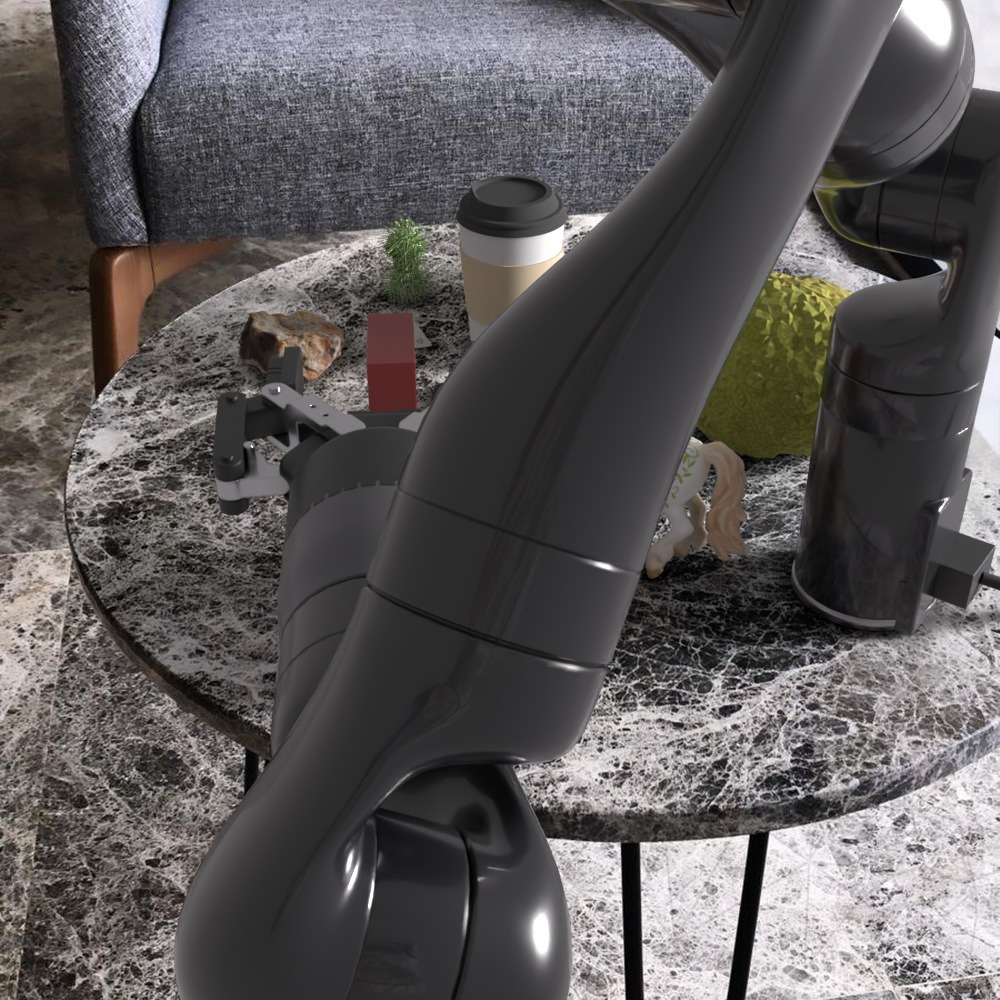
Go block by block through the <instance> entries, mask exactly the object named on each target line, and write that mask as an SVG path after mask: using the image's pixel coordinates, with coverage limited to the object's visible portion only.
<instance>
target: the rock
mask: <svg viewBox="0 0 1000 1000" xmlns="http://www.w3.org/2000/svg"><path fill="white" fill-rule="evenodd" d="M246 315H248V317H247V320H246V322H245V325H244V327H243V329H242V330H241V332H240V334H239V335H240V336H239V339H238V344H239V349H238V357H239V359H240V360H241V362H242V363H243V364H244V365H247V366H251V367H252V366H253V367H256V368H257V369H259V370H260V372H261V373H262V374H265V375H267V374H268V367H269V362H270V361H271V360H272V359H273V358H274V357H283V356H284V349H285V347H293V346H300V348H301V356H302V366H303V376H304V382H308V383H309V382H311V381H313V380H315V379H317V378H319V377H320V376H321V375H322V373H323V372H324V371H325V370H327V369H328V368H329V367H330V366H331V365H332V364H333V362H334V360H336V359H337V358H339V357H340V356H342V349H343V348H344V347H345V345H346V343H345V342H346V341H345V340H346V339H345V332H344V331H343V329H342V328H341V327H339V326H337V325H336V324H335V323H334V322H332V321H330V320H327V318H326V317H325V316H324V315H321V314H317V313H315V312H312V311H309V310H307V309H303V310H299V311H295V312H293V313H290V314H284V313H281V312H279V313H276V312H275V313H272V314H270V313H268V312H267V311H265V310H259V311H254V312H248V313H247V312H246Z"/></svg>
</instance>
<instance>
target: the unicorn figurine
mask: <svg viewBox="0 0 1000 1000" xmlns="http://www.w3.org/2000/svg"><path fill="white" fill-rule="evenodd" d="M711 465H713V467H714V469H715V473H716V479H715V483H714V486H713V488H712V491H711V496H710V497H711V498H710V505H709V506H710V508H709V511H708V505H707V503H706V502H705V501H704V500H703V499H702V497H701V496H700V493H699V492H700V491H701V489H702V488H703V487H704V486H705V483H706V482H707V480H708V476H709V473H710V468H711ZM747 483H748V475H747V473H746V471H745V462H744V461H743V459H742V458H741V456H740V455H739V454H738V453H736V452H734V451H733V450H732V449H730V448H729V447H727V446H726V445H725V444H724V443H722V442H712V441H711V442H709V443H703V442H702V441H701V440H699V439H697V438H695V437H694V436H692V437H691V439H690V442H689V444H688V446H687V448H686V451H685V454H684V456H683V459H682V461H681V464H680V466H679V469H678V471H677V474H676V477H675V479H674V482H673V484H672V487H671V489H670V492H669V495H668V497H667V500H666V502H665V505H664V507H663V510H662V514H663V515H664V517H665V518H666V519H667V520H668V522H669V524H670V525H671V528H670V529H669V530H668V531H667V532H666V533H665V534H664V535H663V536H662V537H660V538H659V539H658V540H657V541H655V542H654V543H652V544H651V546H650V549H649V552H648V555H647V559H646V562H645V568H646V575H647V577H648V578H649V579H650V580H651V579H652V580H653V579H656V578H657V577H659V576H660V575H661V574H662V573H663V572H664V568H665V566H666V564H667V562H668V563H669V562H670V561H671V559H672V558H673V557H676V558H684V557H686V556H687V555H688V554H689V553H690V549H691V547H692V549H693V551H695V552H701V551H702V549H703V548H705V547H706V546H707V544H708V546H710V547H711V548H712V549H713V551H714V553H715V554H716V555H717V556H718V557H719V559H722V560H723V561H725V562H728V561H729V560H730V556H729V554H732V555H734V556H735V555H738V556H745V555H747V554H749V553H750V552H751V547H750V545H749V544H747V543H745V541H744V538H743V536H742V534H741V522H742V523H746V522H748V516H747V514H746V511H745V509H744V508H743V505H742V502H741V501H742V500H743V499H744V498H745V487H746V486H747ZM688 514H689V515H688Z"/></svg>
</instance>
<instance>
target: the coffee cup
mask: <svg viewBox="0 0 1000 1000" xmlns="http://www.w3.org/2000/svg"><path fill="white" fill-rule="evenodd" d="M568 218H569V215H568V212H567V210H566V209H565V203H564V200H563V199H562V198H561V197H560V196H559V195H558V193H555V192H554V190H553V188H552V187H551V185H550V184H548V183H547V182H545V181H544V180H542V179H539V178H536V177H531V176H526V175H517V174H509V175H497V176H492V177H488V178H484V179H482V180H480V181H472V183H471V184H470V188H469V190H468V192H467V193H466V194H465V195H463V196H462V198H461V199H460V200H459V203H458V209H457V211H456V214H455V219H456V221H457V223H458V227H459V235H460V236H459V238H460V241H459V245H458V246H459V254H460V263H461V273H462V281H463V290H464V291H463V292H464V300H465V308H466V313H467V317H468V327H469V336H470V341H475V340H476V339H477V338H478V337H479V336H480V335H481V334H482V333H483V331H484V330H485V329H486V328H487V327H488V326H489V325H490V324H491V323H492V322H493V321H494V320H495V319H496V318H497V317H498V316H499V315H500V314H501V313H502V312H503V311H504V310H505V309H506V308H507V307H509V306H510V305H511V304H512V303H513V302H514V301H515V300H516V299H517V298H518V297H519V296H520V295H521V294H522V293H523V292H524V291H525V290H526V289H527V288H528V287H530V286H531V285H532V284H533V283H534V282H535V281H536V280H537V279H538V278H539V277H540V276H541V275H543V274H544V273H545V272H546V271H547V270H548V269H549V268H550V267H552V266H553V265H554V264H555V263H556V262H557V261H558V260H559V259H561V258H562V257H563V256H564V250H565V243H564V240H563V239H564V238H563V237H564V231H565V230H564V228H565V224H566V223H567V221H568Z"/></svg>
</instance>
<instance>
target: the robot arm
mask: <svg viewBox="0 0 1000 1000" xmlns="http://www.w3.org/2000/svg"><path fill="white" fill-rule="evenodd" d="M601 1H602V2H604V3H605V4H608V5H609V6H611V7H613V8H614V9H617V10H618V11H620V12H622V13H623V14H625V15H627V16H628V17H630V18H632V19H633V20H635V21H637V22H638V23H640V24H642V25H643V26H645V27H646V28H648V29H650V30H652V31H653V32H655V33H656V34H657V35H659V36H660V37H662V38H663V39H664V40H666V41H667V42H668V43H670V44H671V45H672V46H673V47H674V48H676V49H677V50H678V51H679V52H681V53H682V55H683V56H685V57H686V59H688V61H690V62H691V63H692V64H693V66H694V67H695V68H696V69H697V70H698V71H699V72H700V73H701V74H702V75H703V76H704V78H706V79H707V80H708V81H709V82H710V83H711V84H712V85H710V88H709V90H708V92H707V93H706V95H705V97H704V98H703V100H702V101H701V103H700V105H699V106H698V107H697V109H696V110H695V112H694V113H693V115H692V117H691V119H690V120H689V121H688V123H687V124H686V125H685V127H684V128H683V129H682V131H681V132H680V133H679V134H678V136H677V137H676V139H675V140H674V141H673V143H672V144H671V145H670V147H669V148H668V149H667V151H666V152H665V153H664V154H663V156H661V157H660V158H659V160H658V161H657V162H655V164H654V165H653V166H652V167H651V168H650V169H649V171H648V172H646V174H645V175H644V176H643V177H642V178H641V179H640V181H638V182H637V184H636V185H634V187H633V188H632V189H631V190H630V191H629V193H628V194H627V195H626V196H625V197H624V198H623V199H622V200H621V201H620V202H619V203H618V204H617V205H616V206H615V207H614V208H613V209H612V210H611V211H609V212H608V214H607V215H605V216H604V217H603V218H602V219H601V220H600V221H599V222H598V223H597V224H596V225H595V226H594V227H593V228H591V230H590V231H589V232H588V233H587V234H586V235H585V236H584V237H582V238H581V239H580V240H579V242H577V243H576V244H575V245H574V246H573V247H572V248H571V249H569V250H568V251H567V252H566V253H565V254H563V257H562V258H561V259H559V260H558V261H557V262H556V263H555V264H554V265H553V266H552V267H550V268H549V269H548V270H547V271H546V272H545V273H544V274H543V275H541V276H540V277H539V278H538V279H537V280H536V281H535V282H534V283H533V284H532V285H531V286H530V287H528V288H527V289H526V290H525V291H524V292H523V293H522V294H521V295H520V296H519V297H518V298H517V299H516V300H515V301H514V302H513V303H512V304H511V305H510V306H509V307H507V308H506V309H505V310H504V311H503V312H502V313H501V314H500V315H499V316H498V317H497V318H496V319H495V320H494V321H493V322H492V323H491V324H490V325H489V326H488V327H487V328H486V329H485V330H484V331H483V333H482V334H481V335H480V336H479V337H478V338H477V339H476V340H475V341H471V340H470V341H469V345H470V346H469V347H468V348H467V349H466V350H465V352H464V353H463V355H462V356H461V357H460V358H459V360H458V361H457V362H456V363H455V364H454V366H453V367H452V368H451V370H450V372H449V373H448V375H447V376H446V378H445V379H444V380H443V382H442V383H443V384H442V385H441V387H440V388H439V390H438V391H437V393H436V395H435V397H434V399H433V400H432V402H431V401H430V403H431V404H430V403H429V405H428V406H427V407H425V408H424V409H423V410H421V408H417V409H400V410H394V411H389V412H376V411H369V410H347V412H346V414H344V413H343V412H341V411H340V410H338V409H337V408H335V407H334V406H332V405H331V404H329V403H328V402H326V401H325V400H324V399H322V398H320V397H319V396H317V395H316V394H314V393H310V394H308V395H305V396H304V390H305V381H304V376H303V366H302V356H301V348H300V346H293V347H285V349H284V356H283V357H274V358H273V359H272V360H271V361H270V362H269V367H268V374H266V379H265V380H266V381H265V385H264V386H262V387H261V389H260V393H259V394H256V395H255V396H252V397H251V396H250V397H247V395H246V394H245V393H244V392H242V391H239V390H238V391H237V390H233V391H232V390H231V391H226V392H224V393H222V394H220V395H219V396H218V397H217V405H216V415H215V427H214V437H213V449H212V465H213V466H212V467H213V472H214V473H213V474H214V480H215V487H216V494H217V501H218V507H219V512H221V514H224V515H226V516H240V515H241V514H244V513H245V512H247V511H248V510H249V508H250V500H251V499H250V498H260V497H261V498H262V497H271V496H272V497H274V496H282V497H283V499H284V500H285V501H286V502H287V512H286V519H285V520H286V521H285V528H284V538H283V545H282V546H283V547H282V554H281V555H282V556H281V563H280V571H279V581H278V590H277V591H278V593H277V601H276V603H277V605H276V607H277V608H276V615H277V617H276V618H277V628H278V636H279V647H278V656H277V664H276V665H277V667H276V674H275V675H276V677H275V685H274V695H273V706H272V713H271V724H270V748H271V749H270V750H271V757H272V758H271V759H270V760H269V762H268V763H267V764H266V766H265V767H264V769H263V770H262V771H261V772H260V774H259V776H258V777H257V778H256V779H255V781H254V782H253V784H252V785H251V787H250V788H249V789H248V791H247V792H246V794H245V795H244V796H243V798H242V799H241V800H240V801H239V803H238V805H236V808H235V809H234V811H233V812H232V813H231V815H230V816H229V817H228V819H227V820H226V822H225V823H224V825H223V826H222V828H221V829H220V831H219V832H218V834H217V835H216V837H215V839H214V840H213V842H212V844H211V845H210V847H209V849H208V850H207V852H206V853H205V855H204V857H203V858H202V860H201V862H200V864H199V865H198V868H197V870H196V872H195V874H194V875H193V878H192V880H191V883H190V884H189V887H188V889H187V891H186V894H185V897H184V899H183V903H182V906H181V909H180V912H179V916H178V921H177V923H176V924H177V925H176V929H175V936H174V942H173V943H174V945H173V960H174V961H173V962H174V963H173V964H174V977H175V983H176V986H177V990H178V991H177V992H178V996H179V1000H568V996H569V993H570V988H571V980H572V972H573V940H572V939H573V938H572V924H571V917H570V911H569V905H568V902H567V897H566V893H565V889H564V884H563V880H562V876H561V873H560V869H559V867H558V865H557V862H556V859H555V856H554V854H553V851H552V849H551V846H550V844H549V841H548V839H547V837H546V834H545V832H544V830H543V828H542V826H541V824H540V821H539V819H538V816H537V815H536V812H535V811H534V809H533V807H532V804H531V802H530V800H529V798H528V796H527V794H526V792H525V790H524V788H523V786H522V784H521V781H520V780H519V777H518V775H517V773H516V771H515V769H514V766H522V765H523V766H524V765H527V766H528V765H538V764H544V763H548V762H552V761H556V760H558V759H560V758H563V757H564V756H565V755H567V754H568V753H569V752H570V751H572V750H573V749H574V748H575V746H576V745H577V744H578V743H579V742H580V740H581V738H582V737H583V735H584V733H585V731H586V729H587V727H588V724H589V722H590V721H591V718H592V716H593V714H594V711H595V708H596V705H597V703H598V700H599V697H600V694H601V692H602V689H603V686H604V683H605V680H606V678H607V674H608V672H609V666H608V664H609V663H612V661H613V657H614V655H615V651H616V649H617V646H618V644H619V643H618V642H619V640H620V637H621V634H622V632H623V628H624V626H625V623H626V619H627V618H628V617H627V616H628V614H629V612H630V608H631V606H632V602H633V599H634V596H635V593H636V592H637V591H636V590H637V588H638V585H639V582H640V579H641V576H642V573H641V571H644V568H645V566H646V559H647V555H648V552H649V549H650V546H652V544H653V541H654V537H655V534H656V531H657V528H658V526H659V522H660V520H661V517H662V514H663V511H662V510H663V507H664V505H665V502H666V500H667V497H668V495H669V492H670V489H671V487H672V484H673V482H674V479H675V477H676V474H677V471H678V469H679V466H680V464H681V461H682V459H683V456H684V454H685V451H686V448H687V446H688V444H689V442H690V439H691V437H693V435H694V432H695V431H696V428H697V424H698V421H699V419H700V417H701V415H702V412H703V410H704V408H705V406H706V403H707V401H708V399H709V397H710V394H711V392H712V390H713V388H714V386H715V384H716V382H717V380H718V378H719V376H720V374H721V372H722V370H723V368H724V365H725V363H726V361H727V359H728V357H729V355H730V353H731V351H732V349H733V347H734V345H735V343H736V341H737V339H738V337H739V335H740V333H741V331H742V329H743V327H744V325H745V323H746V321H747V319H748V317H749V315H750V313H751V311H752V309H753V307H754V305H755V303H756V301H757V299H758V297H759V295H760V293H761V291H762V289H763V287H764V286H765V284H766V282H767V280H768V278H769V276H770V274H771V272H772V270H774V269H775V267H776V265H777V262H778V261H779V259H780V257H781V255H782V253H783V251H784V249H785V247H786V245H787V243H788V241H789V239H790V237H791V236H792V233H793V232H794V229H795V227H796V225H797V223H798V221H799V219H800V217H801V215H802V213H803V211H804V210H805V207H806V206H807V203H808V201H809V200H810V197H811V195H812V193H813V194H814V197H815V199H816V202H817V203H818V205H819V207H820V209H821V211H822V213H823V215H824V217H825V219H826V221H827V222H828V224H829V226H831V227H832V229H833V230H834V231H835V232H836V233H837V234H838V235H840V236H842V237H843V238H845V239H847V240H849V241H851V242H854V243H856V244H859V245H863V246H866V247H870V248H873V249H879V250H884V251H889V252H894V253H898V254H899V253H900V254H904V255H909V256H912V257H913V256H914V257H919V258H924V259H928V260H934V261H940V262H943V263H945V264H946V267H947V268H945V269H943V270H940V271H938V272H936V273H932V274H930V275H925V276H922V277H918V278H911V279H905V280H897V281H891V282H884V283H879V284H874V285H870V286H867V287H863V288H861V289H859V290H857V291H854V292H852V294H851V295H849V296H848V297H846V298H845V299H844V300H843V301H842V302H841V303H840V304H839V305H838V306H837V308H836V310H835V312H834V314H833V317H832V321H831V325H830V332H829V338H828V345H827V351H826V358H825V365H824V371H823V378H822V385H821V391H820V397H819V404H818V410H817V417H816V424H815V430H814V437H813V444H812V450H811V456H809V463H808V469H807V470H808V471H807V477H806V486H805V490H804V498H803V504H802V511H801V517H800V524H799V530H798V531H799V532H798V539H797V544H796V547H795V553H794V559H793V562H792V567H791V572H790V573H791V574H790V582H791V587H792V590H793V591H794V593H795V594H796V596H797V598H798V599H799V600H800V601H801V602H802V604H804V606H806V607H807V608H809V610H811V611H812V612H814V613H815V614H817V615H819V616H820V617H822V618H823V619H825V620H828V621H830V622H833V623H835V624H838V625H841V626H844V627H847V628H852V629H856V630H862V631H863V630H864V631H874V632H885V631H894V632H898V633H901V634H903V635H906V636H912V635H914V633H916V631H917V630H918V628H919V627H920V625H921V624H922V623H923V622H924V620H925V619H926V618H927V617H928V616H929V615H930V614H931V613H932V612H933V610H934V608H935V606H936V604H937V603H938V601H939V600H940V601H941V602H944V603H947V604H949V605H952V606H956V607H957V608H960V609H962V610H967V608H968V607H969V605H970V603H971V602H972V601H973V599H975V597H976V595H978V592H979V591H980V590H981V589H982V587H983V586H984V587H987V588H991V589H993V590H997V591H1000V576H999V575H996V574H992V573H990V571H991V567H992V563H993V560H994V555H995V551H996V548H997V546H996V545H995V544H993V543H991V542H987V541H984V540H981V539H978V538H976V537H973V536H970V535H967V534H964V533H962V532H960V531H961V527H962V523H963V518H964V514H965V510H966V506H967V500H968V496H969V493H970V487H971V483H972V479H973V473H974V472H973V470H972V469H970V468H969V467H966V462H967V459H968V454H969V449H970V445H971V442H972V441H971V440H972V437H973V431H974V427H975V423H976V419H977V414H978V410H979V405H980V401H981V396H982V392H983V388H984V383H985V379H986V375H987V371H988V367H989V363H990V357H991V352H992V349H993V348H992V347H993V343H994V339H995V334H996V330H997V325H998V320H999V318H1000V91H998V90H997V91H996V90H991V89H986V88H979V87H974V81H975V73H976V53H975V52H976V51H975V46H974V40H973V35H972V31H971V27H970V24H969V21H968V18H967V15H966V11H965V8H964V4H963V2H962V0H601ZM264 438H266V440H267V442H269V443H271V444H272V446H275V447H276V448H277V449H279V450H280V451H282V453H284V455H283V456H282V458H281V460H280V461H279V462H280V463H279V464H277V463H276V464H275V463H271V462H269V461H267V459H266V456H265V455H264V454H263V453H261V452H259V451H256V443H255V442H254V440H258V439H264Z"/></svg>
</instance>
